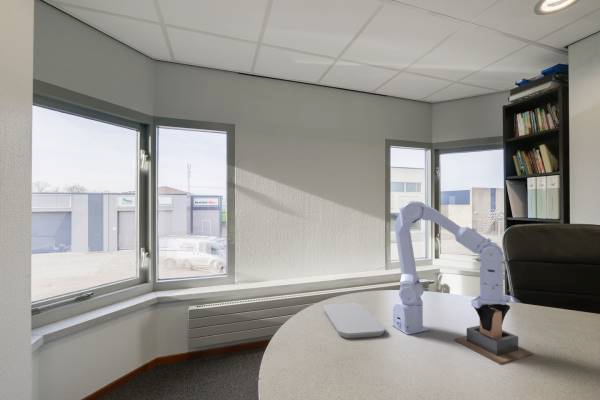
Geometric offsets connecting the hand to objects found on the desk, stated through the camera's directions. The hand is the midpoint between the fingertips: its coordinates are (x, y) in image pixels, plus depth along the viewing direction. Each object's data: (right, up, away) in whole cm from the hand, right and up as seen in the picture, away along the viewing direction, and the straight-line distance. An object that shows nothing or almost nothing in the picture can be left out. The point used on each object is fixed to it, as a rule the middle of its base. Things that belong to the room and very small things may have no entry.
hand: (491, 328), depth 83 cm
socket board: (0, -6, 0) cm, 6 cm away
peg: (0, -3, 0) cm, 3 cm away
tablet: (-39, -6, +18) cm, 44 cm away
